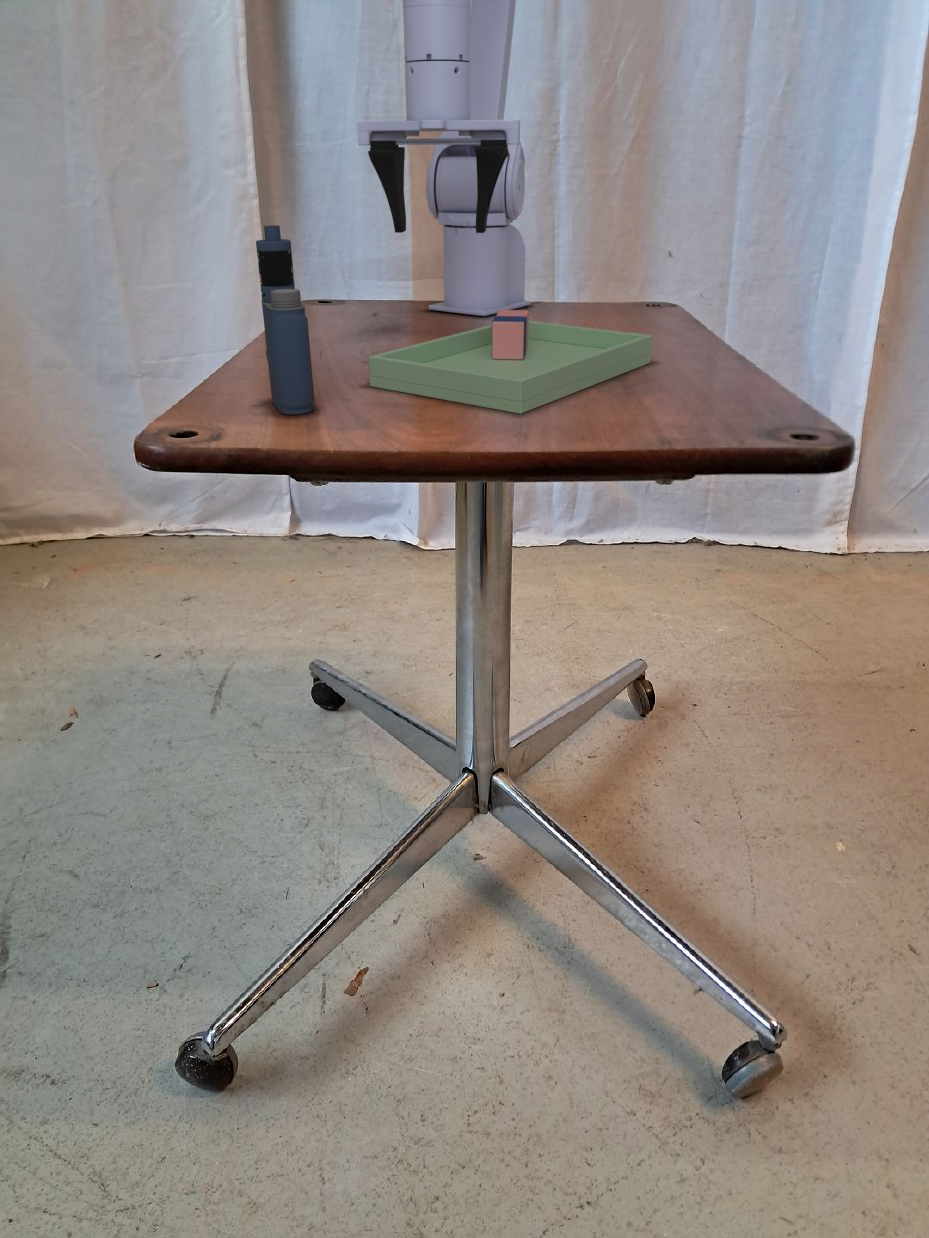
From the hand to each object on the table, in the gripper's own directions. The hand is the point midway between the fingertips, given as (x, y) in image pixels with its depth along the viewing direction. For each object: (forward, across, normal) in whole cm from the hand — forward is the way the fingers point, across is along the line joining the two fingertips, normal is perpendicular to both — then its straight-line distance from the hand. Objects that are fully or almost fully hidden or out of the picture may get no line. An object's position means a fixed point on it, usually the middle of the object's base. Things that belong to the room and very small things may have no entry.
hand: (440, 232), depth 86 cm
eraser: (+8, +8, -12) cm, 17 cm away
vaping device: (+10, -7, -28) cm, 31 cm away
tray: (+9, +9, -16) cm, 21 cm away
